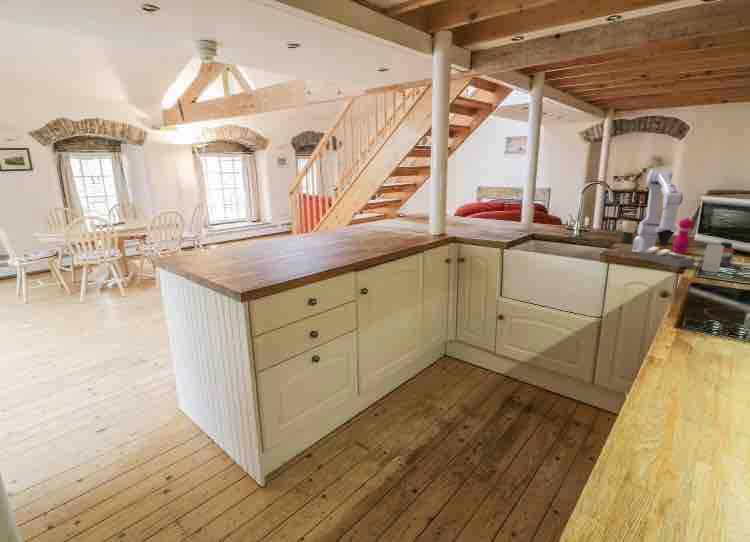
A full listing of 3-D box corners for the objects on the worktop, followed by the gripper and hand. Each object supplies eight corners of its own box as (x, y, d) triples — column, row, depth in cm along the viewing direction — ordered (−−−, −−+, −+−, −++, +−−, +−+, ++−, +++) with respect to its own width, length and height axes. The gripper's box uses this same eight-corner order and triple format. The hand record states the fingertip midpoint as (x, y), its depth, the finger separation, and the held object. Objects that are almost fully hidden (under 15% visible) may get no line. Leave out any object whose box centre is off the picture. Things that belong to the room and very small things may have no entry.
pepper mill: (687, 254, 223) (695, 217, 218) (671, 252, 227) (679, 216, 222) (687, 252, 228) (695, 216, 223) (671, 250, 233) (679, 215, 227)
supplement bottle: (713, 263, 204) (719, 241, 201) (729, 265, 201) (735, 242, 198) (713, 265, 200) (719, 242, 197) (729, 267, 196) (735, 244, 193)
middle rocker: (656, 253, 203) (656, 251, 203) (664, 250, 205) (664, 248, 205) (662, 255, 201) (662, 253, 200) (670, 252, 203) (670, 250, 202)
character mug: (633, 242, 254) (637, 221, 251) (638, 244, 248) (642, 222, 244) (614, 240, 256) (617, 220, 253) (618, 243, 249) (622, 221, 246)
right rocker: (668, 253, 198) (669, 251, 198) (675, 255, 201) (676, 253, 200) (674, 254, 195) (675, 252, 195) (681, 257, 198) (682, 255, 198)
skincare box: (718, 271, 189) (725, 245, 186) (717, 273, 186) (724, 247, 182) (701, 268, 193) (708, 243, 190) (700, 270, 190) (706, 244, 186)
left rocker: (645, 251, 208) (645, 249, 208) (653, 248, 210) (653, 246, 210) (651, 253, 206) (651, 251, 205) (659, 249, 208) (659, 247, 207)
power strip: (636, 258, 211) (638, 250, 210) (651, 256, 216) (653, 248, 215) (678, 267, 194) (680, 259, 193) (693, 265, 199) (695, 257, 198)
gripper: (667, 219, 191) (661, 248, 195) (686, 218, 197) (680, 246, 201) (652, 217, 197) (646, 245, 201) (671, 216, 203) (665, 243, 207)
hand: (662, 245), depth 201 cm, fingers closed
